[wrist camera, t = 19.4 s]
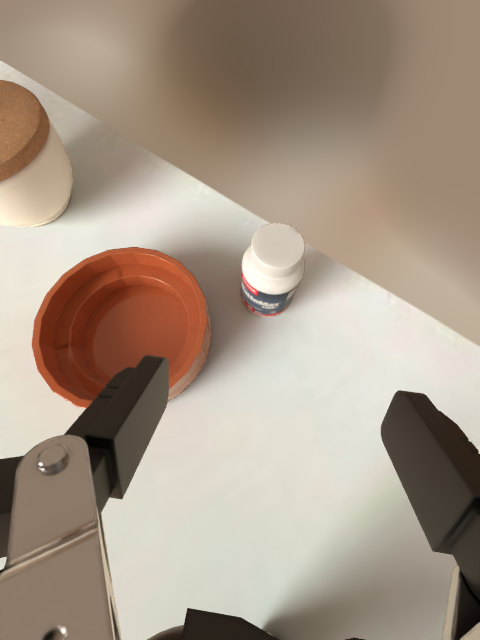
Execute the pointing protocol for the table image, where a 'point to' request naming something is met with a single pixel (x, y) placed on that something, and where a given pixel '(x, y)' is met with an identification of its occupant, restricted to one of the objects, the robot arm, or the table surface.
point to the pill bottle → (272, 269)
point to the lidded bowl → (30, 161)
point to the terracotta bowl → (120, 322)
